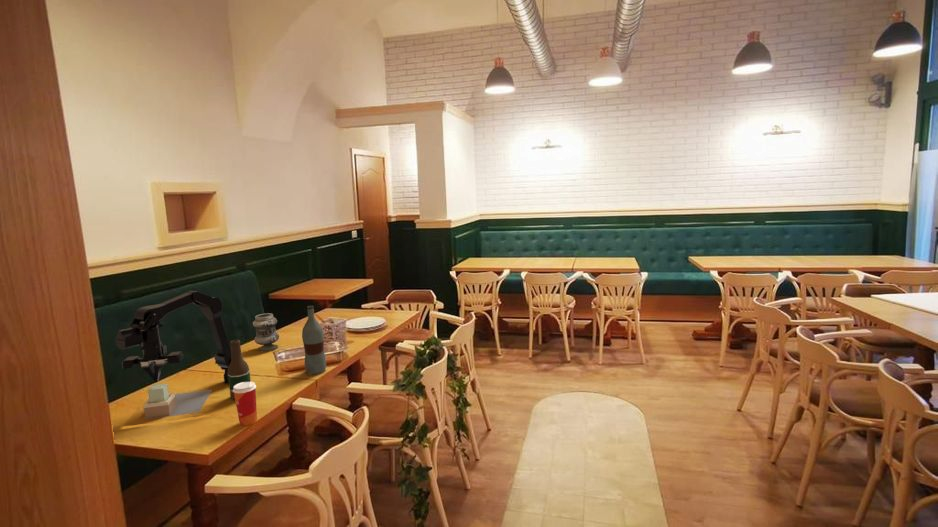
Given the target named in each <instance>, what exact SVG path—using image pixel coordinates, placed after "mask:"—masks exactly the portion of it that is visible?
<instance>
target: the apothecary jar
mask: <svg viewBox="0 0 938 527" xmlns="http://www.w3.org/2000/svg"><path fill="white" fill-rule="evenodd" d="M277 324H278V320H277V318H276V317H275V316H274V314H273V313H269V312H267V313H261V314H257V315H256V316H255V317H254V321H252V326H253V327H254V328H255V333H256V336H255V337H254V338H253V339H254V342H255V343H256V344H257V345H260V347H258V348H257V351H258V352H259V353H260V352H263V353H264V352H270V351H271V352H272V351H275V350H277V349H278V348H279V346H278V345H277V344H275V343H276V342H277V341H279V339H280V335H279V333H278V332H277V329H276V325H277Z"/></svg>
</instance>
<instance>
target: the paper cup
mask: <svg viewBox="0 0 938 527" xmlns="http://www.w3.org/2000/svg"><path fill="white" fill-rule="evenodd" d="M256 388H257V385H256V383H255V382H254V381H250V382H241V383H238V384H236V385H235V386H234V387H233V392H234V396H235V406H236V411H237V412H236V413H237V418H238V421H239V425H240V426H241V427H248V426H252V425H254V424H256V423H257V421H258V416H257V396H256V395H257V394H256V392H257V391H256Z"/></svg>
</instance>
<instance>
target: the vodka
mask: <svg viewBox="0 0 938 527" xmlns="http://www.w3.org/2000/svg"><path fill="white" fill-rule="evenodd" d="M306 309H307V320H306V322H305V324H304V325H303V328H302V333H301V339H302V343H303V348H304V349H303V350H304V368H305V371H306V374H308V375H319V374H322V373H324V372H326V368H327V358H326V354H325V350H324V349H325V348H324V347H325V346H324V345H325V344H324V342H325V341H324V337H325V336H324V335H325V334H324V329H323V327H322V325H321V324H320V322H318V320H317V319H316V318H315V310H314V305H308V306H306Z"/></svg>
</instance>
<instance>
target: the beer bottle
mask: <svg viewBox="0 0 938 527" xmlns="http://www.w3.org/2000/svg"><path fill="white" fill-rule="evenodd" d="M229 344H230V347H231V363H230V365H229V367H228V380H229V383H228V388H229V394H230V399H231V400H233V401H235V396H234V392H233V387H234V386H235V385H236V384H238V383H241V382H250V381H251V374H250V368H249V364H248V363H247V361H246V360H245V359H244V358H243V353H242V346H241V341H240V339H233V340H230V342H229ZM251 382H252V381H251Z"/></svg>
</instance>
